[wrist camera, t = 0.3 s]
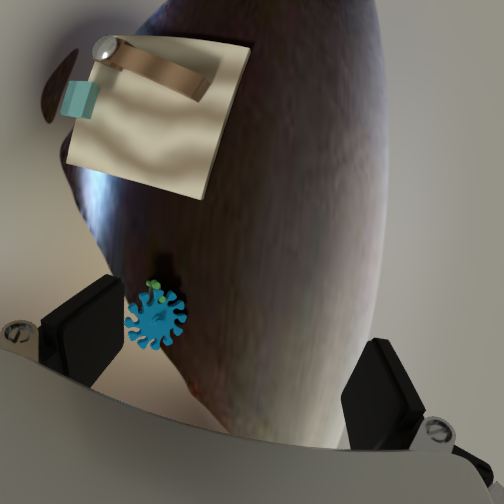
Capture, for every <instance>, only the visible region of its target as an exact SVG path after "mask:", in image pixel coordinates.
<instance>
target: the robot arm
mask: <svg viewBox="0 0 504 504" xmlns="http://www.w3.org/2000/svg"><path fill="white" fill-rule="evenodd" d="M123 343H124V284H123V283H121V279H120V278H118V277H115V276H111V275H108V274H106V275H104V276H102V277H101V278H99V279H98V280H96V281H95V282H93V283H92V284H91V285H89V286H88V287H86V288H85V289H83V290H82V291H80V292H79V293H77V294H76V295H75V296H73V297H72V298H70V299H69V300H68V301H66V302H65V303H63V304H62V305H60V306H59V307H58V308H56V309H55V310H53V311H52V312H51V313H49V314H48V315H47V316H45V317H44V318H43V319H41V326H40V327H39V328H37V327H36V325H35V324H33V323H32V322H29V321H25V320H17V321H13V322H10V323H8V324H6V325H5V326H4V327H3V328H2V330H1V332H0V504H504V488H503V486H502V485H500V484H499V483H498V482H497V481H496V482H495V483H494V484H493V483H492V482H493V478H494V476H493V471H492V469H491V467H490V465H489V464H487V463H486V462H484V461H482V460H481V459H479V458H477V457H475V456H473V455H471V454H470V453H468V452H466V451H465V450H463V449H461V448H459V447H458V446H456V445H454V442H455V438H456V434H455V431H454V429H453V427H452V426H451V425H450V424H449V423H448V422H447V421H445V420H444V419H442V418H439V417H434V416H432V417H428V418H426V419H425V418H424V416H423V414H424V412H425V411H426V409H425V407H424V405H423V403H422V401H421V399H420V397H419V395H418V393H417V392H416V390H415V388H414V386H413V384H412V382H411V380H410V378H409V376H408V374H407V372H406V371H405V369H404V367H403V365H402V364H401V361H400V360H399V358H398V356H397V354H396V352H395V351H394V349H393V347H392V345H391V344H390V342H389V340H387V339H380V338H373V339H372V340H371V341H368V342H367V343H366V345H365V348H364V350H363V352H362V354H361V356H360V358H359V360H358V362H357V364H356V366H355V368H354V370H353V372H352V374H351V376H350V378H349V380H348V382H347V384H346V386H345V388H344V390H343V392H342V395H341V403H342V408H343V413H344V418H345V422H346V427H347V432H348V437H349V442H350V448H351V449H330V448H317V447H306V446H297V445H288V444H281V443H274V442H268V441H261V440H256V439H250V438H245V437H240V436H235V435H230V434H225V433H221V432H216V431H213V430H208V429H204V428H201V427H197V426H193V425H190V424H186V423H183V422H179V421H176V420H173V419H170V418H166V417H163V416H160V415H157V414H154V413H151V412H148V411H145V410H143V409H140V408H137V407H134V406H132V405H129V404H127V403H124V402H121V401H119V400H116V399H114V398H112V397H109V396H107V395H104V394H102V393H100V392H98V391H95V390H93V389H91V388H90V387H91V386H92V385H93V384H94V383H95V381H96V380H97V379H98V377H99V376H100V375H101V374H102V372H103V371H104V370H105V369H106V367H107V366H108V365H109V364H110V363H111V361H112V360H113V359H114V357H115V356H116V355H117V354H118V353H119V351H120V350H121V349H122V347H123Z"/></svg>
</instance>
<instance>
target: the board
mask: <svg viewBox="0 0 504 504" xmlns="http://www.w3.org/2000/svg"><path fill="white" fill-rule="evenodd" d="M114 37H117V38H120V39H123V40H126V41H127V42H129V43H130V44H131V45H133V46H134V47H135V48H137V49H139V50H142V51H145V52H147V53H150V54H153V55H155V56H158V57H160V58H163V59H165V60H168V61H170V62H173V63H175V64H177V65H180V66H182V67H184V68H187V69H189V70H191V71H193V72H196V73H198V74H200V75H202V76H204V77H205V78H206V79H207V80H208V82H209V83H210V84H211V85H210V86H209V88H208V89H207V91H206V92H205V94H204V95H203V97H202V98H201V100H200V102H199V103H198V102H196V101H194V100H192V99H190V98H188V97H186V96H184V95H182V94H180V93H177V92H175V91H173V90H171V89H169V88H167V87H165V86H163V85H161V84H158V83H156V82H154V81H152V80H149V79H147V78H145V77H143V76H140V75H138V74H136V73H133V72H131V71H129V70H126V69H124V68H123V70H122V72H120V71H118V70H116V69H113V68H111V67H108V66H106V65H103V64H101V63H99V62H97V61H95V63H94V66H93V69H92V71H91V74H90V77H89V80H88V81H89V82H95V83H97V84H98V85H97V88H98V89H100V90H99V93H98V96H97V99H96V102H95V106H94V109H93V113H92V116H91V120H90V119H83V118H77V119H76V122H75V126H74V130H73V134H72V138H71V143H70V147H69V152H68V157H67V162H66V163H67V164H71V165H75V166H79V167H83V168H87V169H91V170H95V171H99V172H103V173H107V174H110V175H114V176H118V177H122V178H125V179H129V180H133V181H136V182H140V183H144V184H147V185H151V186H154V187H158V188H161V189H165V190H168V191H172V192H175V193H179V194H182V195H186V196H189V197H192V198H196V199H199V200H202V199H204V195H205V192H206V188H207V185H208V181H209V178H210V174H211V171H212V167H213V164H214V161H215V157H216V154H217V151H218V147H219V144H220V141H221V138H222V134H223V131H224V128H225V125H226V122H227V119H228V116H229V113H230V110H231V107H232V104H233V101H234V98H235V95H236V92H237V89H238V86H239V83H240V80H241V78H242V75H243V72H244V69H245V66H246V64H247V61H248V58H249V56H250V53H251V51H250V48H247V47H242V46H236V45H231V44H225V43H219V42H212V41H205V40H197V39H188V38H178V37H164V36H141V35H123V36H122V35H117V36H114Z"/></svg>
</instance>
